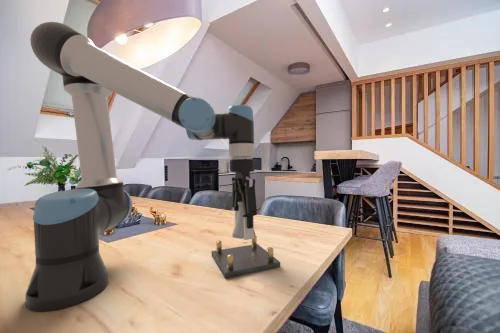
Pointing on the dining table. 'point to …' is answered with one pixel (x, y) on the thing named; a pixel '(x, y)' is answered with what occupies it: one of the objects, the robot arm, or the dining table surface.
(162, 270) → the dining table surface
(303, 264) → the dining table surface
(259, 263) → the pin plate
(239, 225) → the flask
